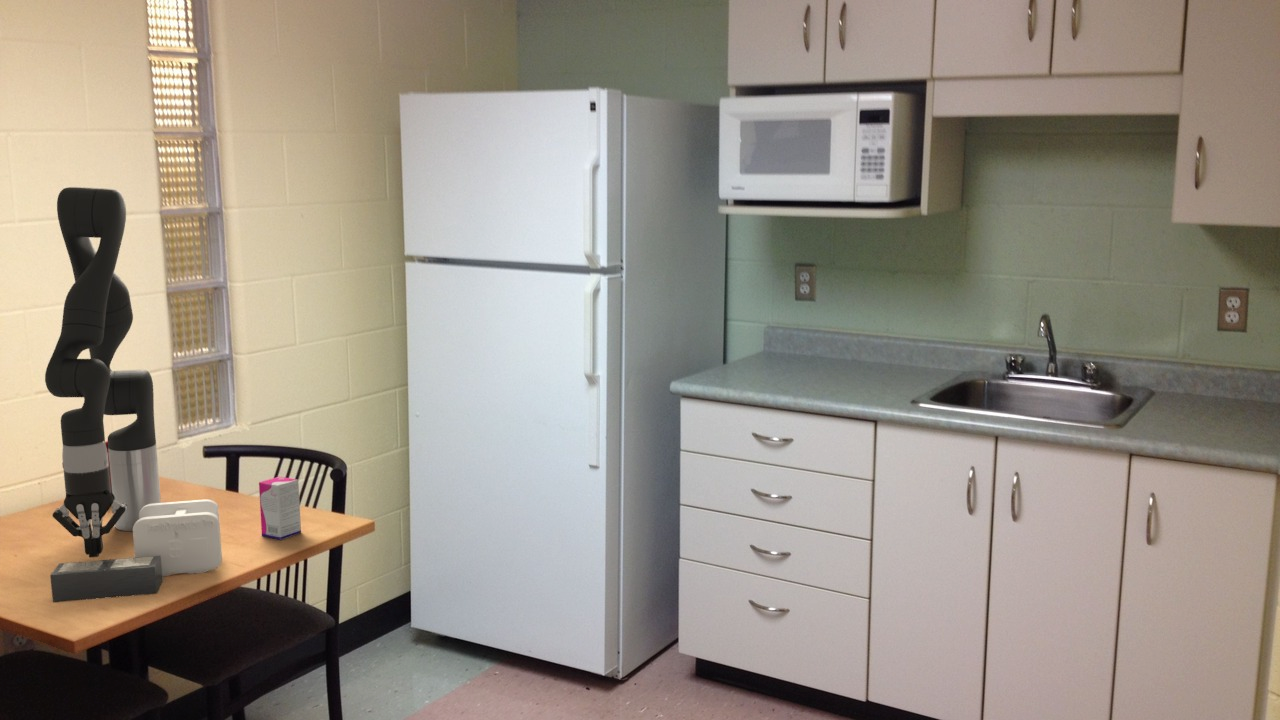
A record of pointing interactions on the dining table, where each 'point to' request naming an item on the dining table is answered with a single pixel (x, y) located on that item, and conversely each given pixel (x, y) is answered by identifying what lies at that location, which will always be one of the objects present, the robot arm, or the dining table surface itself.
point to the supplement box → (280, 508)
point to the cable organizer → (180, 535)
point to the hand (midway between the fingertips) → (94, 555)
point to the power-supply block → (106, 578)
